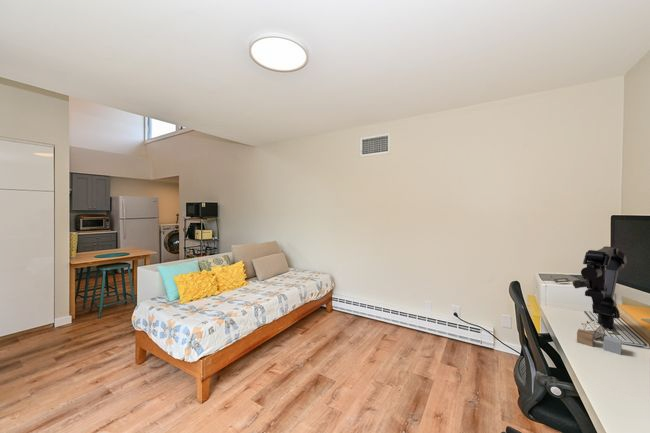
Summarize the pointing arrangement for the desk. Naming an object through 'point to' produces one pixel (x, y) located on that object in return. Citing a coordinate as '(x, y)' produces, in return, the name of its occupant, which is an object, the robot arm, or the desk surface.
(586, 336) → the walnut block
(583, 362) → the desk surface
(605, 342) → the slate block
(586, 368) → the desk surface
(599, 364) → the desk surface
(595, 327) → the game die
